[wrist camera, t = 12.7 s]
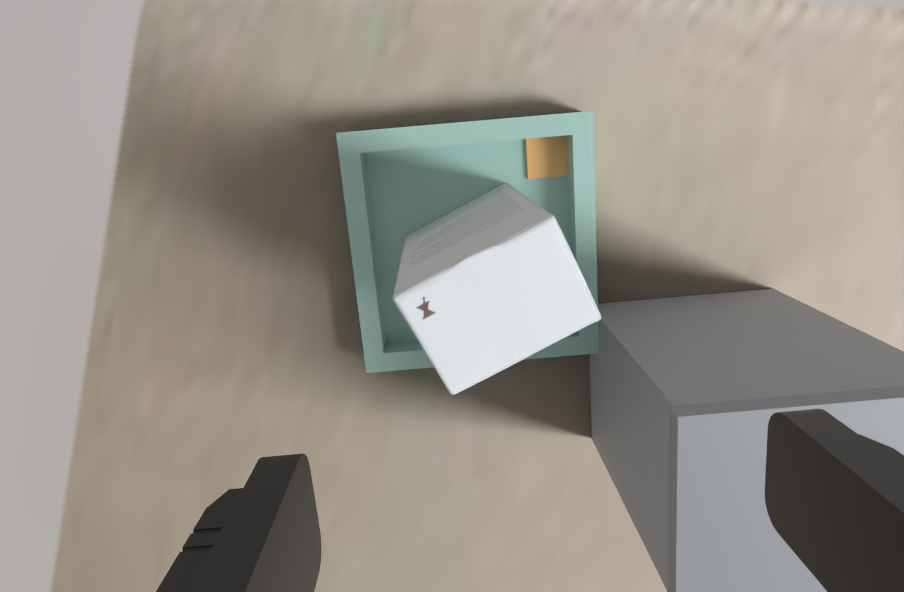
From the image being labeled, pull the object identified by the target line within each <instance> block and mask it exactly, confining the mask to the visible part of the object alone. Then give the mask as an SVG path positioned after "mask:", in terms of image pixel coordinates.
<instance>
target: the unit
mask: <svg viewBox="0 0 904 592" xmlns="http://www.w3.org/2000/svg"><path fill="white" fill-rule="evenodd" d="M598 310H599V312H600V314H601V319H600V320H599V321H598V334H599V353H597V354H589V357H590V393H591V429H592V440H593V442H594V444H595V446H596V448H597V450H598V452H599V454H600V456H601V458H602V460H603V462H604V464H605V466H606V468H607V470H608V472H609V474H610V476H611V478H612V480H613V482H614V484H615V486H616V488H617V490H618V492H619V494H620V496H621V498H622V500H623V503H624V505H625V507H626V509H627V511H628V513H629V515H630V517H631V519H632V521H633V523H634V525H635V527H636V529H637V531H638V533H639V535H640V537H641V539H642V541H643V543H644V545H645V547H646V549H647V551H648V553H649V555H650V557H651V559H652V561H653V563H654V565H655V567H656V569H657V571H658V573H659V575H660V577H661V579H662V581H663V583H664V585H665V587H666V589H667V592H827V591H826V589H825V588H824V587H823V586H822V585H821V584H820V582H819V581H818V580H817V579H816V578H815V576H814V575H813V574H812V573H811V572H810V571H809V569H808V568H807V567H806V566H805V565H804V563H803V562H802V561H801V560H800V559H799V558H798V556H797V555H796V554H795V553H794V552H793V550H792V549H791V548H790V547H789V546H788V545H787V543H786V542H785V541H784V540H783V539H782V537H781V536H780V535H779V534H778V533H777V531H776V530H775V528H774V527H773V525H772V523H771V520H770V518H769V515H768V512H767V508H766V503H765V474H766V453H767V433H768V423H769V420H770V417H771V416H772V415H773V414H774V413H776V412H786V411H798V410H809V409H823V410H825V411H827V412H828V413H829V414H831V415H832V416H834V417H835V418H836V419H838V420H839V421H840V422H842V423H843V424H845V425H846V426H847V427H849V428H850V429H851V430H853V431H854V432H856V433H857V434H860V435H863V436H865V437H868V438H870V439H872V440H875V441H877V442H880V443H882V444H884V445H887V446H889V447H892V448H894V449H895V450H897V451H898V452H900V453H901V454H902V455H904V352H903V351H901V350H899V349H897V348H895V347H893V346H891V345H889V344H886V343H884V342H882V341H880V340H878V339H876V338H874V337H872V336H870V335H868V334H866V333H864V332H862V331H860V330H858V329H856V328H853V327H851V326H849V325H847V324H845V323H843V322H841V321H839V320H837V319H835V318H833V317H831V316H829V315H827V314H825V313H822V312H820V311H818V310H816V309H814V308H812V307H810V306H808V305H806V304H804V303H802V302H800V301H798V300H796V299H794V298H791V297H789V296H787V295H785V294H783V293H781V292H779V291H777V290H775V289H761V290H749V291H738V292H726V293H714V294H703V295H691V296H679V297H668V298H656V299H644V300H633V301H621V302H609V303H598Z"/></svg>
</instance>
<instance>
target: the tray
mask: <svg viewBox="0 0 904 592" xmlns="http://www.w3.org/2000/svg"><path fill="white" fill-rule="evenodd" d="M336 138H337V146H338V154H339V162H340V170H341V178H342V186H343V194H344V202H345V209H346V217H347V225H348V233H349V241H350V249H351V257H352V265H353V273H354V281H355V289H356V297H357V304H358V312H359V320H360V328H361V336H362V344H363V352H364V360H365V368H366V373H375V372H387V371H398V370H410V369H422V368H433V365H432V363H431V362H430V360H429V358H428V357H427V355H426V353H425V352H424V350H423V348H422V347H421V345H420V344H419V342H418V340H417V339H416V337H415V335H414V334H413V332H412V330H411V329H410V327H409V325H408V324H407V322H406V321H405V319H404V317H403V316H402V314H401V313H400V311H399V309H398V308H397V306H396V305H395V303H394V301H393V294H394V289H395V285H396V280H397V275H398V271H399V266H400V261H401V257H402V252H403V246H404V242H405V238H406V236H407V235H409V234H411V233H413V232H415V231H417V230H419V229H421V228H422V227H424V226H426V225H428V224H430V223H432V222H434V221H435V220H437V219H439V218H441V217H443V216H445V215H447V214H448V213H450V212H452V211H454V210H456V209H458V208H460V207H462V206H463V205H465V204H467V203H469V202H471V201H473V200H475V199H477V198H478V197H480V196H482V195H484V194H486V193H488V192H490V191H492V190H493V189H495V188H497V187H499V186H501V185H503V184H505V183H508V184H510V185H511V186H513V187H514V188H516V189H517V190H518V191H520V192H521V193H522V194H524V195H525V196H526V197H528V198H529V199H530V200H532V201H533V202H534V203H536V204H537V205H539V206H540V207H542V208H543V209H544V210H546V211H547V212H549V213H551V214H552V215H554V217H555V218H556V220H557V222H558V224H559V226H560V228H561V230H562V233H563V235H564V237H565V239H566V241H567V243H568V245H569V247H570V249H571V252H572V254H573V256H574V258H575V260H576V262H577V264H578V266H579V269H580V271H581V273H582V275H583V277H584V279H585V281H586V284H587V286H588V288H589V290H590V292H591V295H592V297H593V299H594V301H595V303H596V306H597V308H598V291H597V248H596V206H595V163H594V120H593V111H585V112H573V113H562V114H550V115H538V116H527V117H515V118H503V119H492V120H480V121H468V122H457V123H445V124H433V125H422V126H410V127H398V128H386V129H375V130H363V131H351V132H340V133H336ZM597 353H599V334H598V321H597V322H594V323H592V324H590V325H588V326H586V327H584V328H582V329H580V330H578V331H576V332H575V333H573V334H571V335H569V336H567V337H565V338H563V339H561V340H559V341H557V342H555V343H553V344H551V345H549V346H547V347H546V348H544V349H542V350H540V351H538V352H536V353H534V354H532V355H530V356H529V357H527V358H525V359H523V360H527V359H538V358H550V357H562V356H573V355H585V354H597Z"/></svg>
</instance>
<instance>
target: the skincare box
mask: <svg viewBox="0 0 904 592" xmlns="http://www.w3.org/2000/svg"><path fill="white" fill-rule="evenodd" d="M393 301H394V303H395V305H396V306H397V308H398V309H399V311H400V313H401V314H402V316H403V317H404V319H405V321H406V322H407V324H408V325H409V327H410V329H411V330H412V332H413V334H414V335H415V337H416V339H417V340H418V342H419V344H420V345H421V347H422V348H423V350H424V352H425V353H426V355H427V357H428V358H429V360H430V362H431V363H432V365H433V367H434V368H435V370H436V372H437V373H438V375H439V377H440V378H441V380H442V382H443V383H444V385H445V387H446V388H447V390H448V392H449V393H450V394H452V395H455V394H457V393H459V392H460V391H462V390H465V389H467V388H469V387H471V386H472V385H474V384H476V383H478V382H480V381H482V380H484V379H486V378H488V377H490V376H492V375H494V374H496V373H498V372H500V371H502V370H504V369H506V368H508V367H510V366H511V365H513V364H515V363H517V362H519V361H521V360H523V359H525V358H527V357H529V356H530V355H532V354H534V353H536V352H538V351H540V350H542V349H544V348H546V347H547V346H549V345H551V344H553V343H555V342H557V341H559V340H561V339H563V338H565V337H567V336H569V335H571V334H573V333H575V332H576V331H578V330H580V329H582V328H584V327H586V326H588V325H590V324H592V323H594V322H597V321H599V320H600V319H601V314H600V312H599V310H598V308H597V306H596V303H595V301H594V299H593V297H592V295H591V292H590V290H589V288H588V286H587V284H586V281H585V279H584V277H583V275H582V273H581V271H580V269H579V266H578V264H577V262H576V260H575V258H574V256H573V254H572V252H571V249H570V247H569V245H568V243H567V241H566V239H565V237H564V235H563V233H562V230H561V228H560V226H559V224H558V222H557V220H556V218H555V217H554V215H552V214H551V213H549V212H547V211H546V210H544V209H543V208H542V207H540V206H539V205H537V204H536V203H534V202H533V201H532V200H530V199H529V198H528V197H526V196H525V195H524V194H522V193H521V192H520V191H518V190H517V189H516V188H514V187H513V186H511V185H510V184H508V183H505V184H503V185H501V186H499V187H497V188H495V189H493V190H492V191H490V192H488V193H486V194H484V195H482V196H480V197H478V198H477V199H475V200H473V201H471V202H469V203H467V204H465V205H463V206H462V207H460V208H458V209H456V210H454V211H452V212H450V213H448V214H447V215H445V216H443V217H441V218H439V219H437V220H435V221H434V222H432V223H430V224H428V225H426V226H424V227H422V228H421V229H419V230H417V231H415V232H413V233H411V234H409V235H407V236H406V238H405V242H404V246H403V252H402V257H401V261H400V266H399V271H398V275H397V280H396V285H395V289H394V294H393Z"/></svg>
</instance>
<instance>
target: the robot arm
mask: <svg viewBox="0 0 904 592" xmlns="http://www.w3.org/2000/svg"><path fill="white" fill-rule="evenodd" d="M765 503H766V508H767V512H768V515H769V518H770V520H771V523H772V525H773V527H774V528H775V530H776V531H777V533H778V534H779V535H780V536H781V537H782V539H783V540H784V541H785V542H786V543H787V545H788V546H789V547H790V548H791V549H792V550H793V552H794V553H795V554H796V555H797V556H798V558H799V559H800V560H801V561H802V562H803V563H804V565H805V566H806V567H807V568H808V569H809V571H810V572H811V573H812V574H813V575H814V576H815V578H816V579H817V580H818V581H819V582H820V584H821V585H822V586H823V587H824V588H825V589H826V591H827V592H904V455H902V454H901V453H900V452H898V451H897V450H895V449H894V448H892V447H889V446H887V445H884V444H882V443H880V442H877V441H875V440H872V439H870V438H868V437H865V436H863V435H860V434H857V433H856V432H854V431H853V430H851V429H850V428H849V427H847V426H846V425H845V424H843V423H842V422H840V421H839V420H838V419H836V418H835V417H834V416H832V415H831V414H829V413H828V412H827V411H825V410H823V409H809V410H798V411H786V412H776V413H774V414H773V415H772V416H771V417H770V420H769V423H768V433H767V453H766V474H765ZM320 563H321V535H320V528H319V522H318V515H317V509H316V503H315V497H314V490H313V484H312V478H311V471H310V466H309V462H308V459H307V456H306V455H305V454H294V455H282V456H271V457H262V458H260V459H259V460H258V462H257V464H256V466H255V468H254V469H253V471H252V473H251V475H250V477H249V479H248V481H247V483H246V484H245V486H244V488H240V489H229V490H228V491H227V492H226V493H224V494H223V495H222V496H221V497H220V498H218V499H217V500H216V501H215V502H213V503H212V504H211V505H210V506H209V507H207V508H206V510H205V511H204V513H203V515H202V516H201V518H200V520H199V521H198V523H197V525H196V526H195V528H194V530H193V534H191V535H190V536H189V538H188V540H187V541H186V543H185V545H184V546H183V552H180V553H179V555H178V556H177V558H176V559H175V561H174V563H173V564H172V566H171V568H170V569H169V571H168V573H167V574H166V576H165V578H164V579H163V581H162V583H161V584H160V586H159V588H158V589H157V591H156V592H314V590H315V586H316V582H317V578H318V574H319V570H320Z"/></svg>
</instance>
